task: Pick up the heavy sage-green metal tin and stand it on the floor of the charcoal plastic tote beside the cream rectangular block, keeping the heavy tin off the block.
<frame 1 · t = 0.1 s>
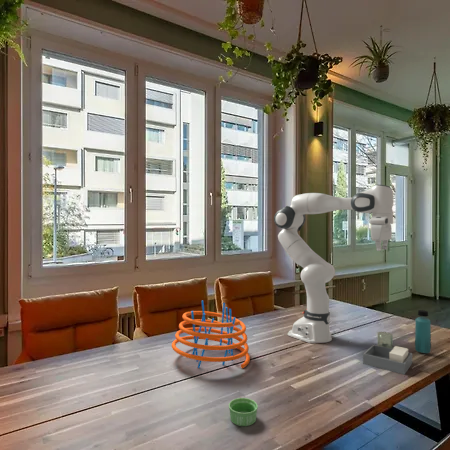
hand: (381, 250, 160), 48 cm above the table, tool pointing down, fingers open, 8 cm apart
toy basket: (211, 359, 154), on the table
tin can: (384, 352, 163), on the table
cream rectangular block: (398, 366, 145), point 1 cm above the table, touching tote
beverage bottle: (422, 354, 161), on the table
ramekin: (243, 419, 108), on the table
tote: (387, 365, 148), on the table
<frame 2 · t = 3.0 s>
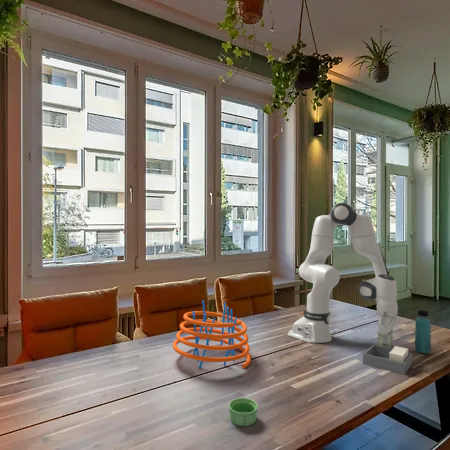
hand: (387, 339, 163), 6 cm above the table, tool pointing down, fingers open, 8 cm apart
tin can: (384, 351, 163), on the table, touching gripper
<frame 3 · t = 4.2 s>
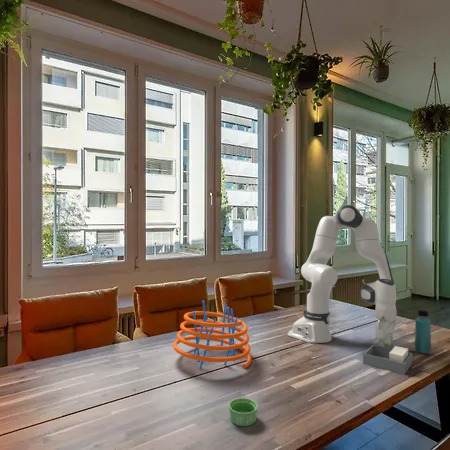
hand: (385, 343, 163), 4 cm above the table, tool pointing down, fingers closed on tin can, 6 cm apart
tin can: (384, 351, 163), on the table, touching gripper
everything else where it was.
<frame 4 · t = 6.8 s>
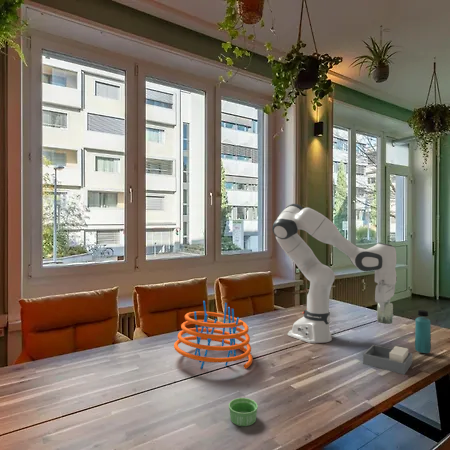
hand: (384, 309, 159), 21 cm above the table, tool pointing down, fingers closed on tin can, 6 cm apart
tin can: (384, 321, 159), point 15 cm above the table, touching gripper
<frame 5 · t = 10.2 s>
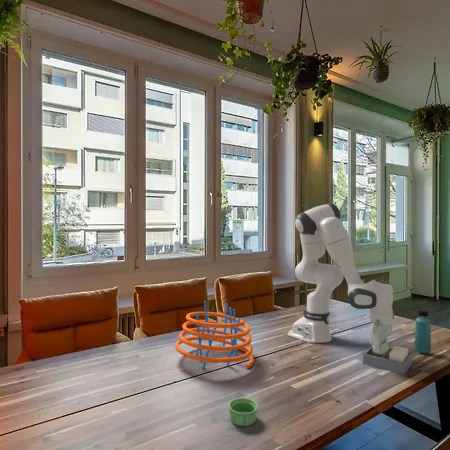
hand: (380, 349, 149), 6 cm above the table, tool pointing down, fingers closed on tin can, 6 cm apart
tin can: (380, 362, 149), point 1 cm above the table, touching gripper, tote
when the fingers open (6 cm above the table, at t = 10.5 s): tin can stays where it is, resting on tote.
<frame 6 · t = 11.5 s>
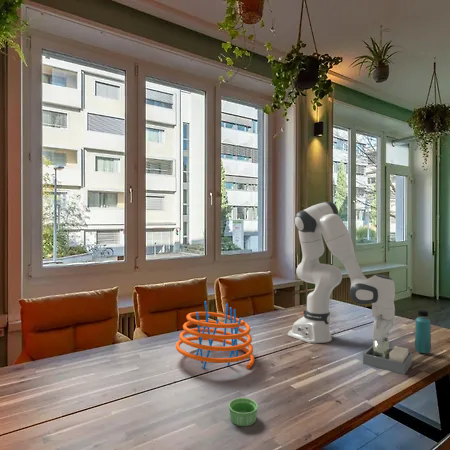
hand: (382, 344, 150), 8 cm above the table, tool pointing down, fingers open, 8 cm apart
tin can: (380, 361, 149), point 1 cm above the table, tilted 6°, touching tote
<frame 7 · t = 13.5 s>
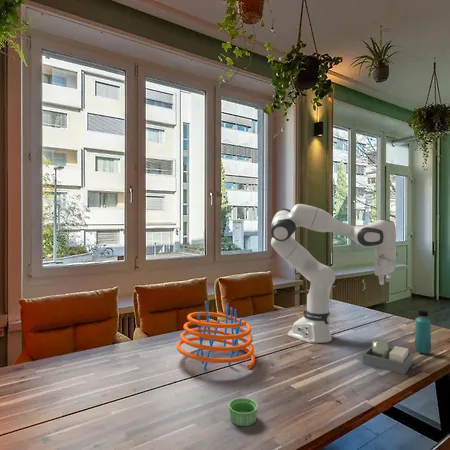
hand: (384, 283, 164), 32 cm above the table, tool pointing down, fingers open, 8 cm apart
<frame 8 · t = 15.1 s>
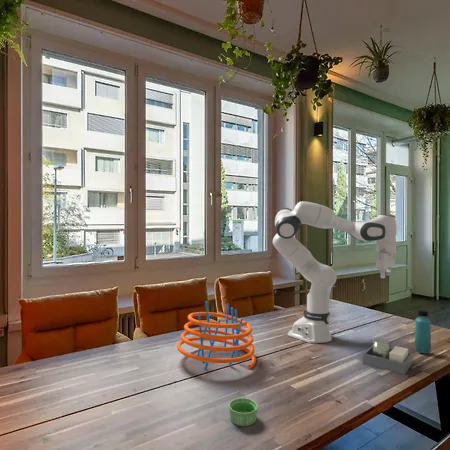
hand: (385, 276, 168), 34 cm above the table, tool pointing down, fingers open, 8 cm apart
at the end: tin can inside the target area (0.5 cm from its centre), point 0.9 cm above the table; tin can tilted 2°; cream rectangular block moved 0.1 cm from its start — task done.
